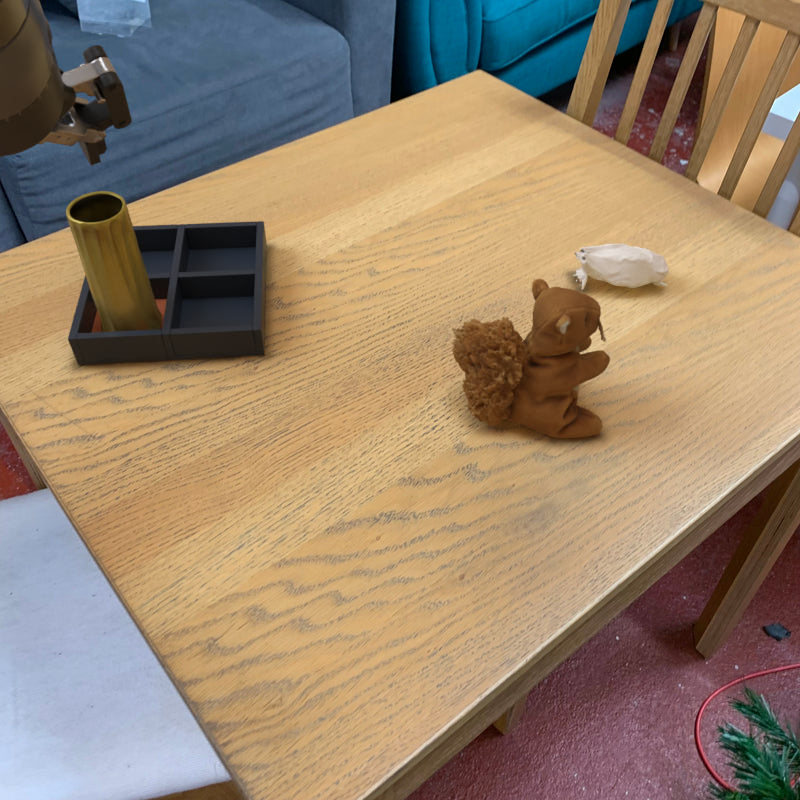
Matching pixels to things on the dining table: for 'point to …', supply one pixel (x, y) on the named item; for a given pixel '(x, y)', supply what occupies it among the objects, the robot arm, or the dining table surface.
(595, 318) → the stuffed squirrel
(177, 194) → the dining table surface
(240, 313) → the grid
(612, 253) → the bird figurine
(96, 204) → the vase
